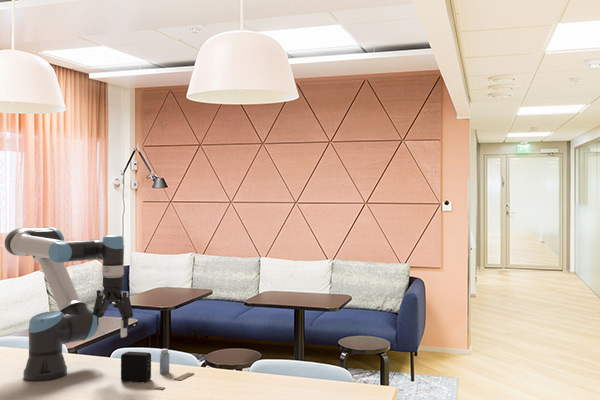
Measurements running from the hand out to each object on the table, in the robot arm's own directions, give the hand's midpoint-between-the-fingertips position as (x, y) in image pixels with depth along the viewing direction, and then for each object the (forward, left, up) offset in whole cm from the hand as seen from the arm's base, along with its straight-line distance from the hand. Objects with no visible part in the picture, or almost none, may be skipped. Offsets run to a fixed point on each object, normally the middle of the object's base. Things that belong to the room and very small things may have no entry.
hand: (112, 335), depth 210 cm
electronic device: (+11, 0, -16) cm, 19 cm away
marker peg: (+15, +12, -16) cm, 25 cm away
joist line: (+25, +4, -16) cm, 30 cm away
